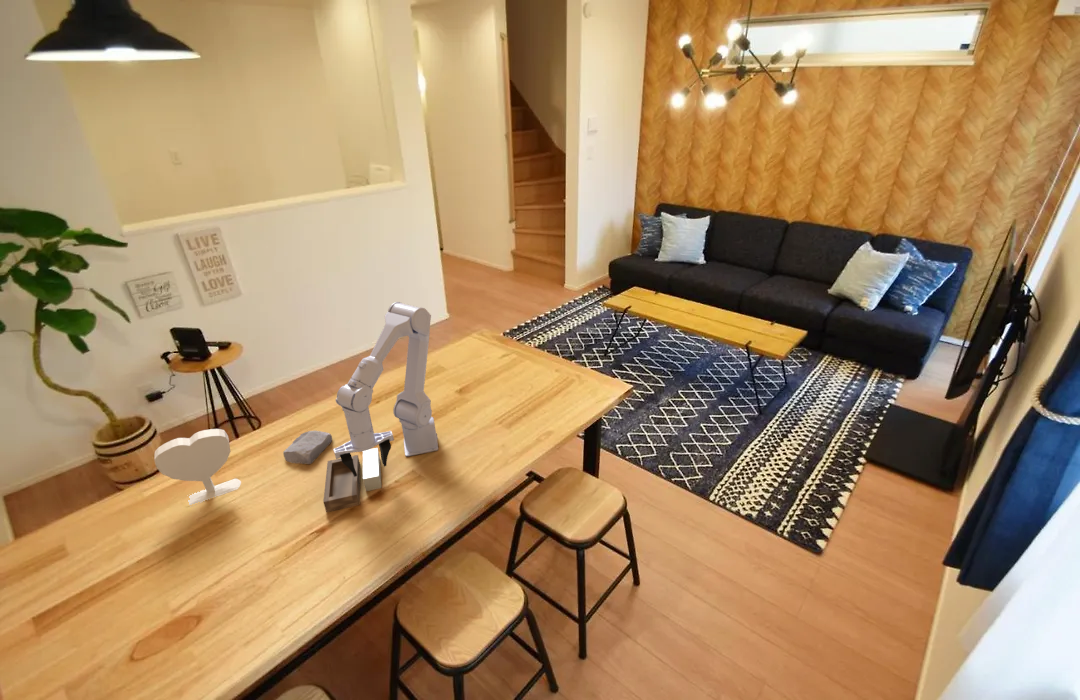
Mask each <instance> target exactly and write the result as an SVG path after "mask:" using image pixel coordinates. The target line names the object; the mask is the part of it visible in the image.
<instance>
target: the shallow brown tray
mask: <svg viewBox="0 0 1080 700" xmlns="http://www.w3.org/2000/svg"><path fill="white" fill-rule="evenodd" d="M351 457H352V459H353V464H354V468H355V471H356V473H357V476H356V477H354V475H353V473H352V471H351V470H350V469H349V468H348V467H347V466H346V465H345V464H343V462H342V460H341V457H340V458H338V459H336V458H335V459H331V460H327V463H326V464H327V465H326V473H325V474H326V475H325V483H324V484H325V485H324V492H323V493H324V494H323V506H324V508H325V513H329V512H334V511H339V510H343V509H347V508H351V507H356V506H360V503H361V501H360V499H361V495H360V494H361V490H360V489H361V462H360V459H359V454H356V455H351Z"/></svg>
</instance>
